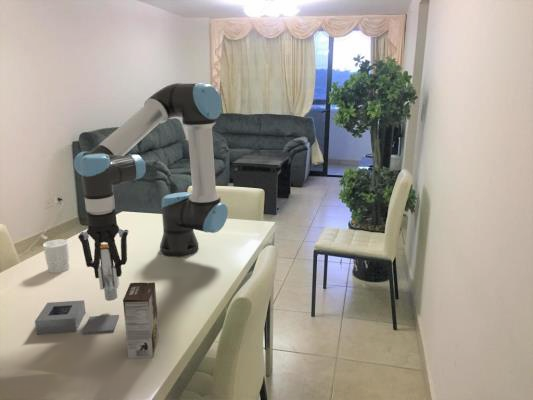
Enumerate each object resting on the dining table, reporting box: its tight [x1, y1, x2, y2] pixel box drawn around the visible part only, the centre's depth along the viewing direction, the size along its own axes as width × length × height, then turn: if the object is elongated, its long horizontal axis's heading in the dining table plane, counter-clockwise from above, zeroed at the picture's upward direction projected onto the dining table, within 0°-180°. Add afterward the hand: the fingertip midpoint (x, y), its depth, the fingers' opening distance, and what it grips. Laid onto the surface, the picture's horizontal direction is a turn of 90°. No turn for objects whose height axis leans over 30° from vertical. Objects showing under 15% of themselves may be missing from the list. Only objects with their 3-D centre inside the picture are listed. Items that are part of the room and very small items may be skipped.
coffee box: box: [122, 281, 160, 359], centre depth 108 cm, size 9×6×16 cm
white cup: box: [42, 238, 70, 274], centre depth 154 cm, size 8×8×10 cm
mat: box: [82, 314, 120, 335], centre depth 120 cm, size 8×8×1 cm
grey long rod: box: [99, 243, 118, 302], centre depth 125 cm, size 3×3×17 cm
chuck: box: [34, 299, 86, 335], centre depth 121 cm, size 10×10×4 cm
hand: (110, 286), depth 127 cm, fingers closed on grey long rod, 3 cm apart
